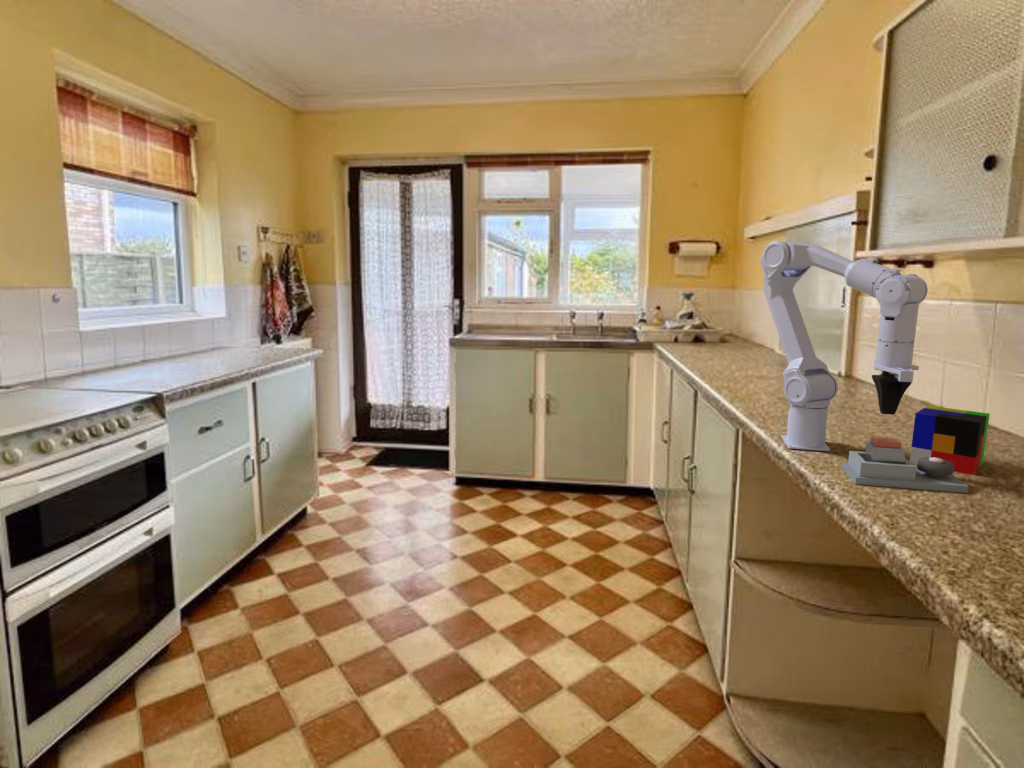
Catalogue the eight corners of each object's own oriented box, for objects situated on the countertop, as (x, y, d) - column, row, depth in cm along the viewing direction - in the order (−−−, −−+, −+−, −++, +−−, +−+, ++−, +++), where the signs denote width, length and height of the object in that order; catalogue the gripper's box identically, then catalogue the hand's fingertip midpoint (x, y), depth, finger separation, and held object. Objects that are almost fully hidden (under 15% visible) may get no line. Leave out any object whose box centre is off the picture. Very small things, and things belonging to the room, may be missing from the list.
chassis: (841, 468, 115) (843, 449, 114) (945, 476, 110) (947, 456, 110) (855, 484, 106) (857, 463, 105) (967, 493, 102) (970, 472, 101)
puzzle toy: (909, 463, 118) (915, 413, 116) (922, 452, 125) (928, 405, 123) (972, 475, 111) (980, 422, 109) (982, 463, 118) (989, 413, 116)
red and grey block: (863, 467, 111) (867, 435, 110) (894, 469, 110) (898, 437, 109) (870, 474, 108) (873, 441, 106) (902, 476, 106) (906, 443, 105)
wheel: (912, 464, 110) (913, 453, 109) (945, 467, 108) (946, 455, 108) (923, 473, 105) (925, 462, 104) (958, 476, 103) (960, 464, 103)
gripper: (937, 346, 103) (927, 424, 106) (906, 337, 117) (897, 406, 120) (890, 345, 105) (881, 421, 108) (865, 336, 119) (858, 404, 121)
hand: (887, 413), depth 114 cm, fingers closed
